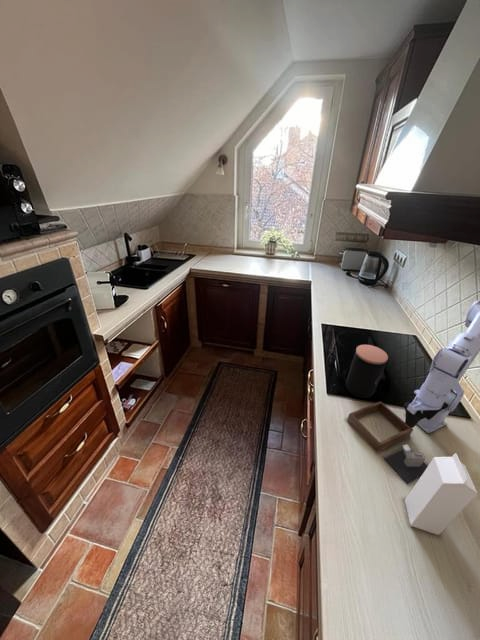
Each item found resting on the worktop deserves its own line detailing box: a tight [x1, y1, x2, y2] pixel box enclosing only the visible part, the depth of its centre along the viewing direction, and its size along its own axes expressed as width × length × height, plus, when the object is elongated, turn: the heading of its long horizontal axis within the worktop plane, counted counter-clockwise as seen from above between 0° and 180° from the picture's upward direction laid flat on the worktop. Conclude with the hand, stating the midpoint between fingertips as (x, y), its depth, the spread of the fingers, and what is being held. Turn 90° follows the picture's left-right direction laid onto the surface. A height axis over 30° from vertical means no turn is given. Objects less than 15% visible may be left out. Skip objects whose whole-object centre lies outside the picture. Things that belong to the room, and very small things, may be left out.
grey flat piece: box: [402, 444, 427, 467], centre depth 72 cm, size 7×2×8 cm, turn 92°
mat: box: [383, 448, 429, 485], centre depth 74 cm, size 10×8×1 cm
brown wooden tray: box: [346, 401, 414, 453], centre depth 84 cm, size 15×13×4 cm
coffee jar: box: [345, 344, 389, 399], centre depth 96 cm, size 11×11×18 cm
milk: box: [404, 452, 478, 536], centre depth 58 cm, size 6×6×22 cm
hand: (417, 421), depth 77 cm, fingers open, 7 cm apart
